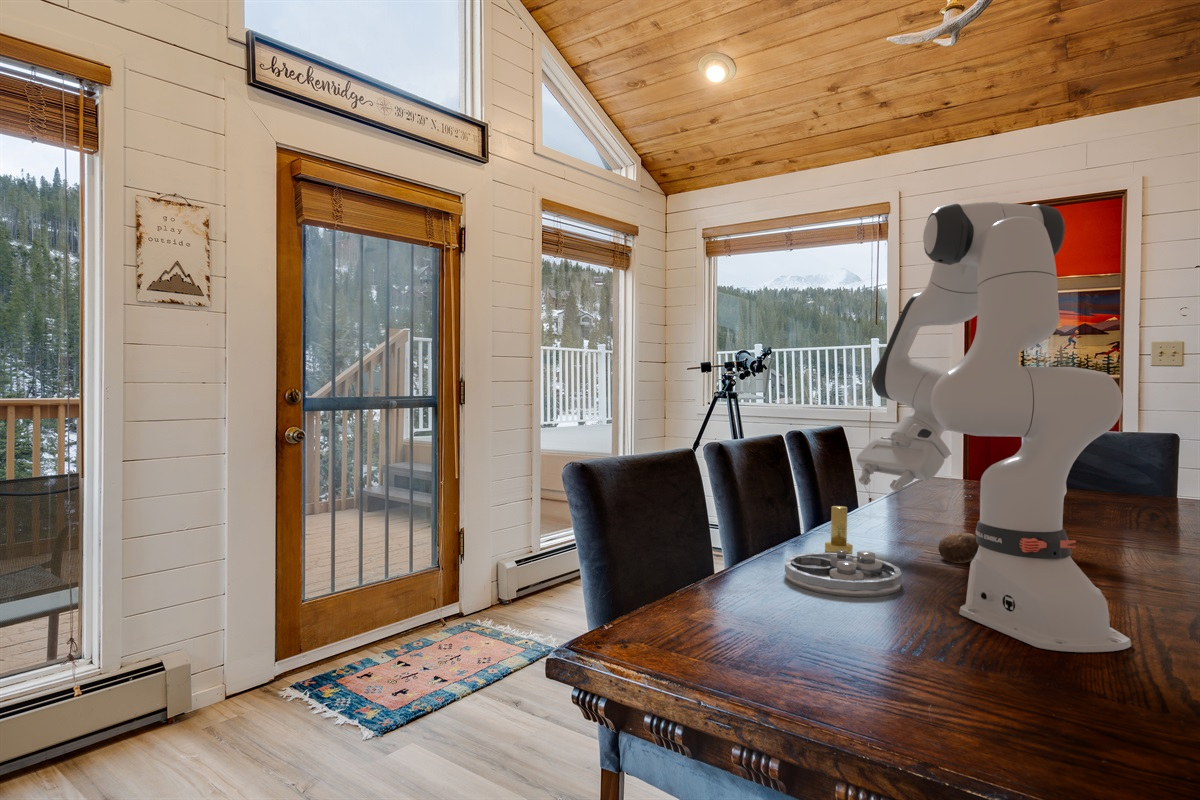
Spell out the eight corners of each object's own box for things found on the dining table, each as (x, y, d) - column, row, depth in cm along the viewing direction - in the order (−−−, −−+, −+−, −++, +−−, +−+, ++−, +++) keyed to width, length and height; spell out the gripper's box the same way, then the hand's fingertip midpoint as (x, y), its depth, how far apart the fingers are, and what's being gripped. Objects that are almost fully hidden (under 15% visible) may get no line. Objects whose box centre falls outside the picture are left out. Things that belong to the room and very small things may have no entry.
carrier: (922, 596, 117) (923, 564, 116) (808, 598, 115) (808, 566, 115) (869, 564, 137) (869, 538, 136) (771, 566, 135) (771, 539, 135)
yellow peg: (856, 555, 144) (857, 509, 144) (831, 556, 143) (831, 509, 143) (845, 549, 149) (846, 505, 149) (820, 549, 149) (821, 505, 149)
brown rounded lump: (977, 541, 143) (966, 519, 142) (994, 564, 136) (982, 542, 134) (940, 556, 146) (928, 535, 144) (954, 580, 138) (942, 558, 137)
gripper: (871, 427, 162) (837, 470, 159) (942, 433, 143) (905, 482, 139) (885, 445, 163) (852, 488, 160) (957, 454, 144) (921, 503, 141)
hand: (877, 486), depth 150 cm, fingers open, 8 cm apart
